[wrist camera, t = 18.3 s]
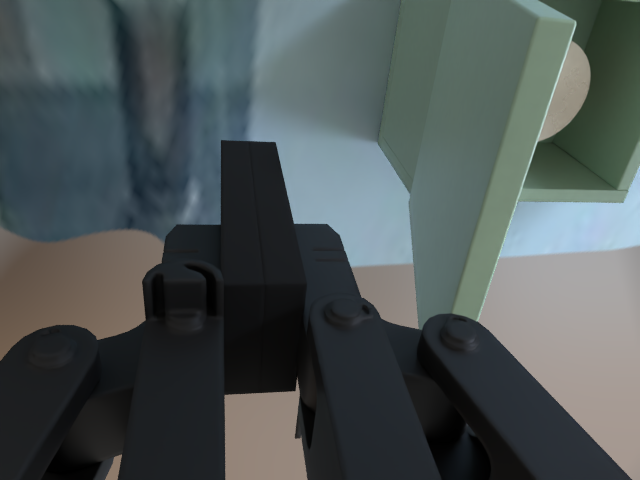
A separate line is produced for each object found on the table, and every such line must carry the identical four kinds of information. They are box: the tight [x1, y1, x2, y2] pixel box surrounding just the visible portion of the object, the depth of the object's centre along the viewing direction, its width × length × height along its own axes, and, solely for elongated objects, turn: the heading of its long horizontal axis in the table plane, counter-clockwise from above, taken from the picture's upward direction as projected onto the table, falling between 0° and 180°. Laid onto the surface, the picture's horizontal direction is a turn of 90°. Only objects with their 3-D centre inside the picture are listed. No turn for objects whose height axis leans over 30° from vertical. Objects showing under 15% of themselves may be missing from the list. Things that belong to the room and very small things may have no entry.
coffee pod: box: [538, 40, 591, 141], centre depth 30 cm, size 6×6×6 cm
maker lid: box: [409, 0, 576, 330], centre depth 19 cm, size 13×11×1 cm
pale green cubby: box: [378, 0, 640, 203], centre depth 29 cm, size 13×11×8 cm
